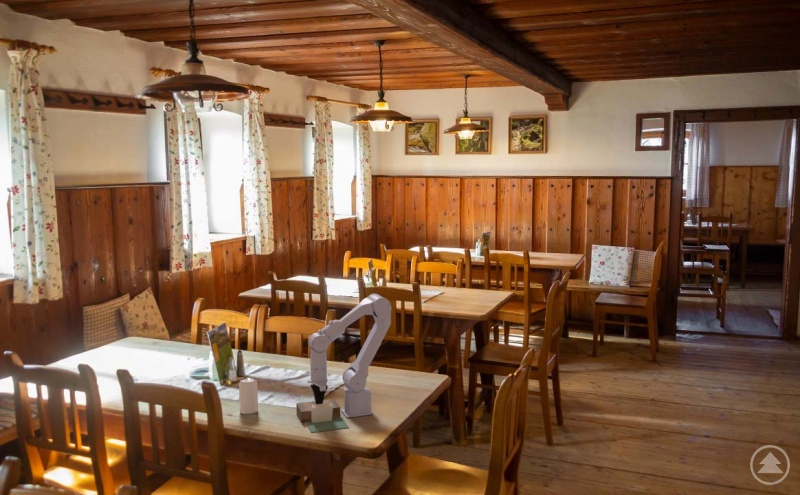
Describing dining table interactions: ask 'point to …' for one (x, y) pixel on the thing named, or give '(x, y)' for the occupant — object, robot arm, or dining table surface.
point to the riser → (306, 407)
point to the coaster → (321, 412)
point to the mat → (327, 425)
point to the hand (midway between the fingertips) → (319, 404)
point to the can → (248, 396)
